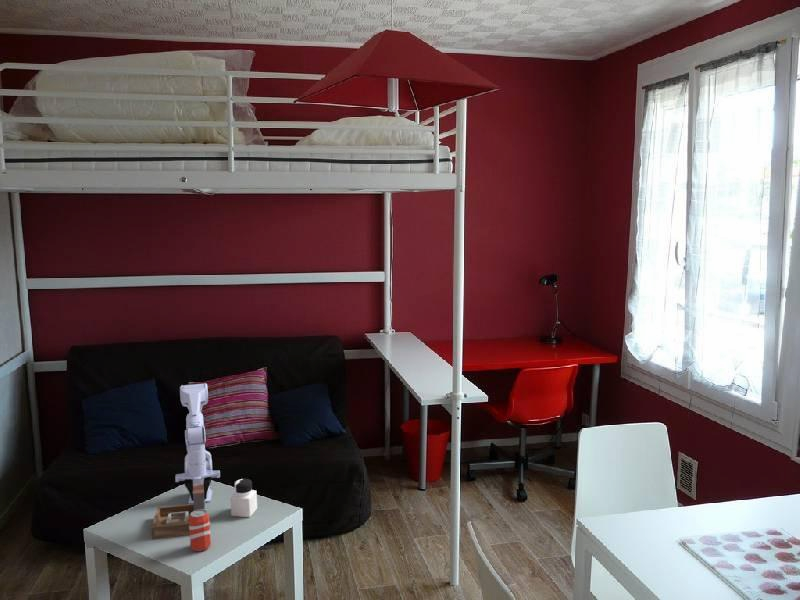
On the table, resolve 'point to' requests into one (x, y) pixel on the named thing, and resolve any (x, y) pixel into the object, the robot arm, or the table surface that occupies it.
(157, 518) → the walled box
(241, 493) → the medicine bottle
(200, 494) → the rectangular block
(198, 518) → the beverage can
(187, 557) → the table surface
